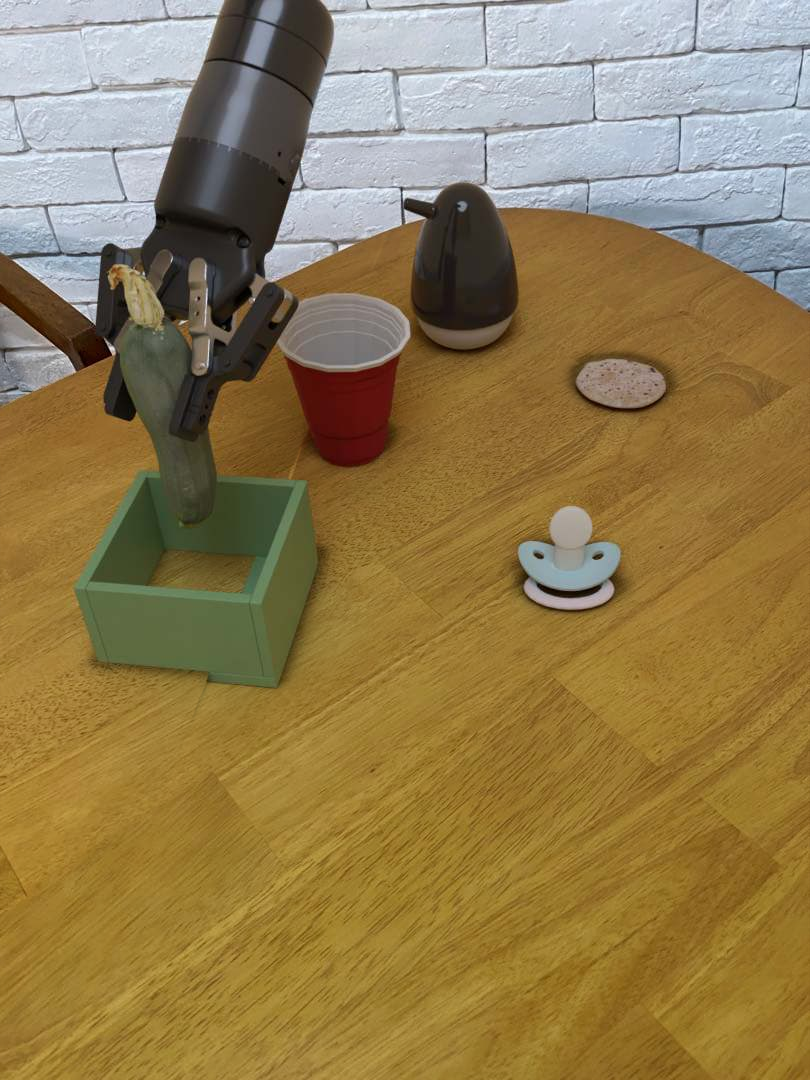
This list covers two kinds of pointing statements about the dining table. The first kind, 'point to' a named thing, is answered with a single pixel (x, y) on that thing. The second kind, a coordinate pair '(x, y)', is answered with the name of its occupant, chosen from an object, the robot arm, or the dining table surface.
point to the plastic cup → (345, 371)
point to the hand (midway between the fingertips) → (150, 426)
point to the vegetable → (164, 399)
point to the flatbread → (621, 383)
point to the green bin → (195, 615)
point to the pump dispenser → (462, 268)
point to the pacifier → (569, 562)
